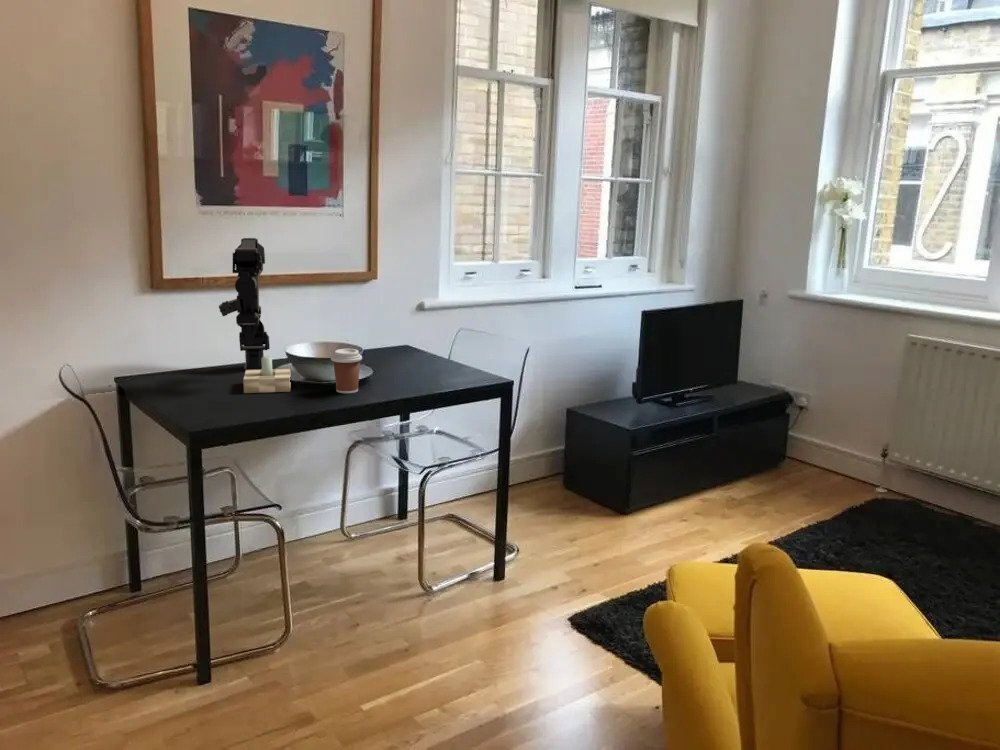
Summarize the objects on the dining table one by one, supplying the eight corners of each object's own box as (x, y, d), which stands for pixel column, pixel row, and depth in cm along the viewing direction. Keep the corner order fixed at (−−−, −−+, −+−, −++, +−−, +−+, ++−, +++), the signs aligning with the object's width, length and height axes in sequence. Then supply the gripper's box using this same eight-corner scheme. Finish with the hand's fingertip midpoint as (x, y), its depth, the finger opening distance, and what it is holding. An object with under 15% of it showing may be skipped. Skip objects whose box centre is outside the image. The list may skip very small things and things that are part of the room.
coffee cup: (365, 387, 253) (364, 348, 250) (359, 395, 245) (359, 354, 242) (335, 386, 254) (334, 347, 251) (328, 394, 245) (327, 353, 242)
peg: (262, 385, 252) (261, 356, 249) (273, 385, 252) (272, 356, 250) (262, 388, 249) (261, 358, 247) (272, 388, 249) (271, 358, 247)
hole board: (246, 382, 255) (245, 369, 254) (290, 381, 258) (290, 368, 257) (244, 393, 243) (243, 379, 242) (290, 391, 246) (289, 378, 245)
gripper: (222, 286, 258) (225, 336, 262) (216, 295, 241) (219, 349, 244) (260, 286, 261) (262, 335, 264) (257, 295, 243) (259, 348, 247)
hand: (250, 341), depth 255 cm, fingers open, 9 cm apart
